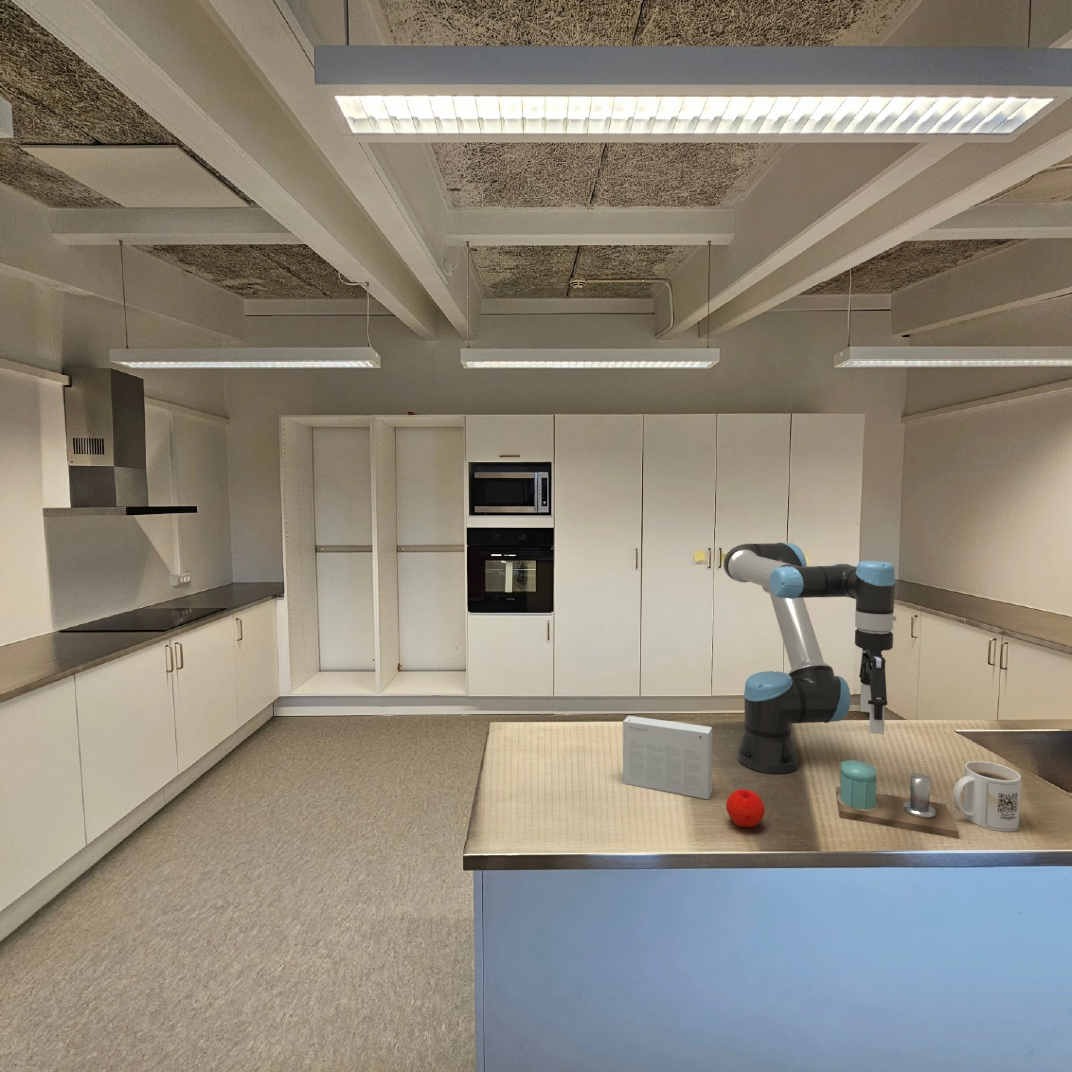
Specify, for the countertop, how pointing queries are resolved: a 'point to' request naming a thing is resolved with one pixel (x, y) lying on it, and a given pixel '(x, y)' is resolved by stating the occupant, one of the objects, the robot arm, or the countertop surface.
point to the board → (900, 815)
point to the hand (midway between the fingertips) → (871, 722)
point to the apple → (745, 808)
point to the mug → (990, 795)
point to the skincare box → (667, 756)
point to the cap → (858, 784)
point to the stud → (919, 798)
